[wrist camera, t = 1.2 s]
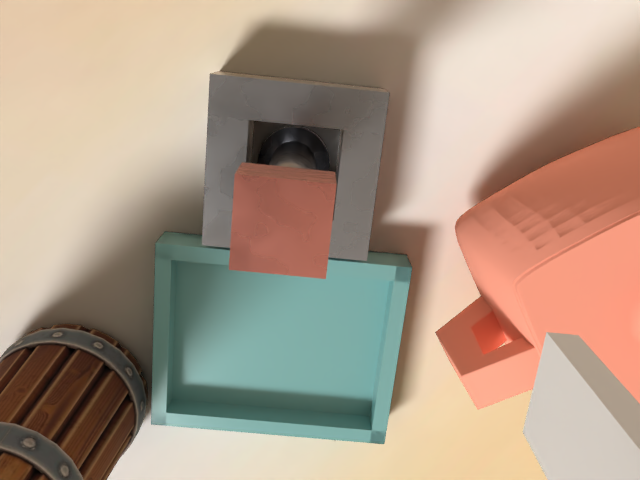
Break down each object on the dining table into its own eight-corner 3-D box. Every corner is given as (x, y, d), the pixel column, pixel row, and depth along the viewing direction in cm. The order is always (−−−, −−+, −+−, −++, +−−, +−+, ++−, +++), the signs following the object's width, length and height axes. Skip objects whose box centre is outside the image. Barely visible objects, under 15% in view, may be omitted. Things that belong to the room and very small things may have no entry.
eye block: (211, 228, 40) (201, 245, 37) (219, 71, 37) (209, 73, 34) (362, 243, 41) (366, 261, 37) (383, 88, 38) (389, 92, 34)
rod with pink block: (256, 191, 39) (223, 273, 25) (262, 122, 38) (229, 168, 24) (324, 198, 40) (330, 283, 25) (332, 129, 38) (342, 179, 24)
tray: (159, 403, 44) (151, 424, 42) (164, 231, 40) (155, 243, 38) (380, 422, 45) (384, 444, 42) (406, 254, 41) (412, 267, 38)
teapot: (709, 65, 37) (932, 76, 24) (766, 241, 41) (989, 338, 27) (384, 228, 40) (419, 320, 27) (463, 379, 44) (528, 527, 30)
